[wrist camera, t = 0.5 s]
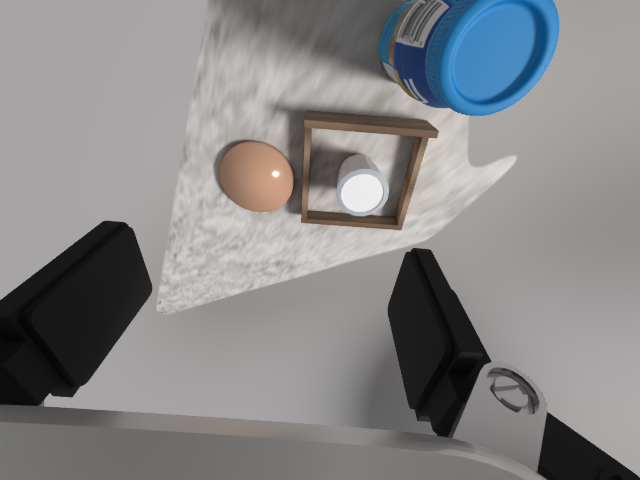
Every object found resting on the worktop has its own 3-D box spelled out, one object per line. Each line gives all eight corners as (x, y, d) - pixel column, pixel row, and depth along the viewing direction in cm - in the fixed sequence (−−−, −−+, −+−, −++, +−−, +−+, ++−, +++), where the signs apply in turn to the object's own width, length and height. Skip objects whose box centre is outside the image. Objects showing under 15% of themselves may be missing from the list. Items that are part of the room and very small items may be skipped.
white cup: (337, 196, 44) (339, 219, 39) (331, 153, 40) (332, 173, 35) (381, 190, 43) (389, 213, 38) (380, 146, 39) (389, 165, 34)
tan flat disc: (216, 137, 39) (213, 139, 38) (294, 144, 39) (293, 146, 39) (226, 206, 46) (224, 209, 45) (293, 211, 46) (292, 214, 45)
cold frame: (306, 110, 37) (304, 120, 33) (426, 120, 37) (438, 131, 33) (302, 214, 46) (300, 231, 42) (398, 221, 47) (404, 239, 43)
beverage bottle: (447, -20, 29) (595, -84, 13) (454, 69, 34) (570, 102, 18) (368, 18, 31) (411, 2, 15) (385, 97, 36) (433, 149, 20)
